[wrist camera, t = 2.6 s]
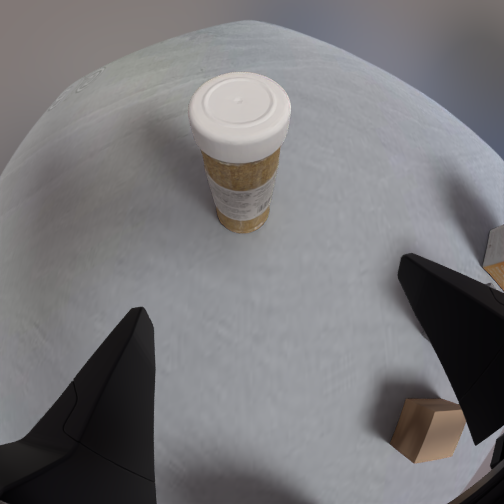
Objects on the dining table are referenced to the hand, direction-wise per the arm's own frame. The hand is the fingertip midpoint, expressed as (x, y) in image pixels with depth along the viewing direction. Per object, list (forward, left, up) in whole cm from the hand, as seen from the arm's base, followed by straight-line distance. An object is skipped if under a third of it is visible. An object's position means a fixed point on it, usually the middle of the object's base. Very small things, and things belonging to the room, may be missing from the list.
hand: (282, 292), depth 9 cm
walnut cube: (-5, -19, -14) cm, 24 cm away
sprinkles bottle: (+7, +5, -14) cm, 16 cm away
